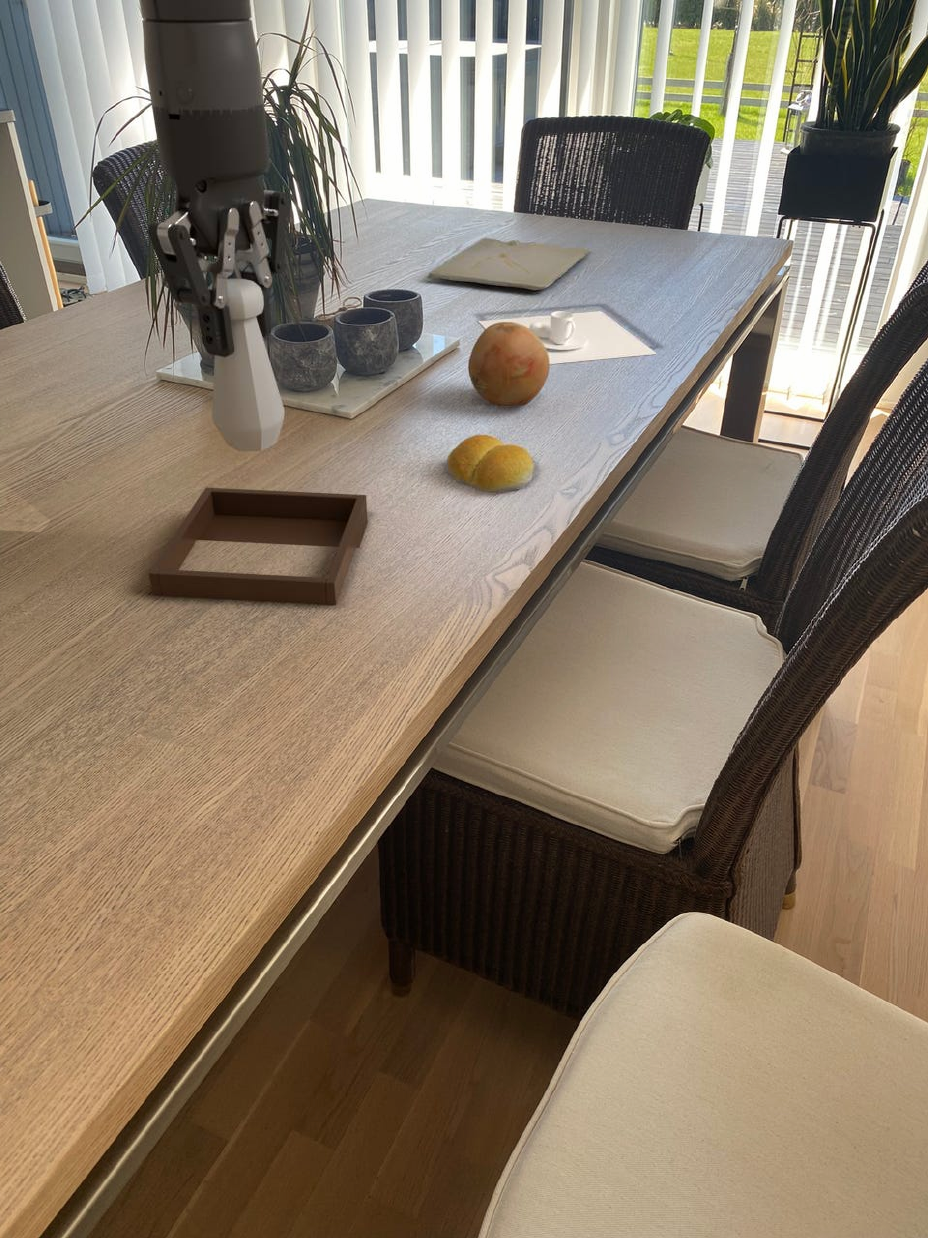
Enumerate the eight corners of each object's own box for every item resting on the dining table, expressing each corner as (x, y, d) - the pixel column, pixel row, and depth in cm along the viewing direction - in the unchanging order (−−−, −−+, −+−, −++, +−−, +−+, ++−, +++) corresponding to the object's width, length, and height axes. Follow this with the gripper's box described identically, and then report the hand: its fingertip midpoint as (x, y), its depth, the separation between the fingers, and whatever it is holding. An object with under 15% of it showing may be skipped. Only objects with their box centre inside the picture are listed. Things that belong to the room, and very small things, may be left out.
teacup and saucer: (521, 334, 138) (523, 306, 135) (573, 330, 140) (575, 302, 137) (542, 355, 131) (544, 325, 128) (596, 350, 133) (598, 320, 130)
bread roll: (505, 503, 95) (506, 467, 93) (435, 478, 100) (435, 443, 97) (550, 474, 101) (552, 439, 98) (482, 451, 105) (483, 418, 103)
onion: (564, 404, 117) (570, 323, 111) (508, 427, 111) (511, 342, 105) (507, 383, 122) (509, 304, 116) (451, 403, 116) (451, 322, 111)
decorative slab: (479, 246, 180) (480, 235, 179) (589, 256, 174) (590, 245, 173) (427, 283, 159) (427, 271, 158) (549, 297, 153) (550, 285, 152)
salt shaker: (206, 453, 77) (180, 290, 70) (231, 425, 82) (209, 270, 74) (275, 458, 76) (256, 295, 69) (296, 430, 81) (281, 274, 74)
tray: (154, 604, 80) (148, 573, 78) (210, 515, 93) (205, 487, 91) (337, 614, 79) (334, 583, 77) (367, 523, 92) (366, 494, 90)
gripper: (225, 84, 71) (252, 313, 81) (90, 105, 61) (140, 366, 70) (310, 90, 69) (328, 325, 78) (185, 113, 58) (223, 382, 68)
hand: (239, 343), depth 74 cm, fingers closed on salt shaker, 4 cm apart
